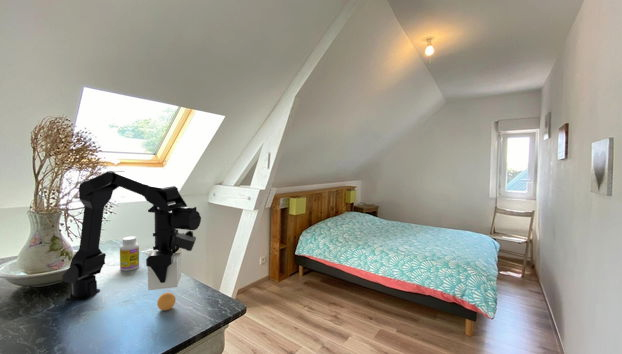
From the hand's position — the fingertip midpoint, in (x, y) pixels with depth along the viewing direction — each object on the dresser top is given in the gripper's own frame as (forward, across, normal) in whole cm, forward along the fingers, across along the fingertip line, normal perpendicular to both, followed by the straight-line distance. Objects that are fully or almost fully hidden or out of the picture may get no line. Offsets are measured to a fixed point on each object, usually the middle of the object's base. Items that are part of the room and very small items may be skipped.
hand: (165, 276), depth 84 cm
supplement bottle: (+11, +36, +20) cm, 43 cm away
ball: (+8, 0, 0) cm, 8 cm away
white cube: (+2, 0, 0) cm, 2 cm away
